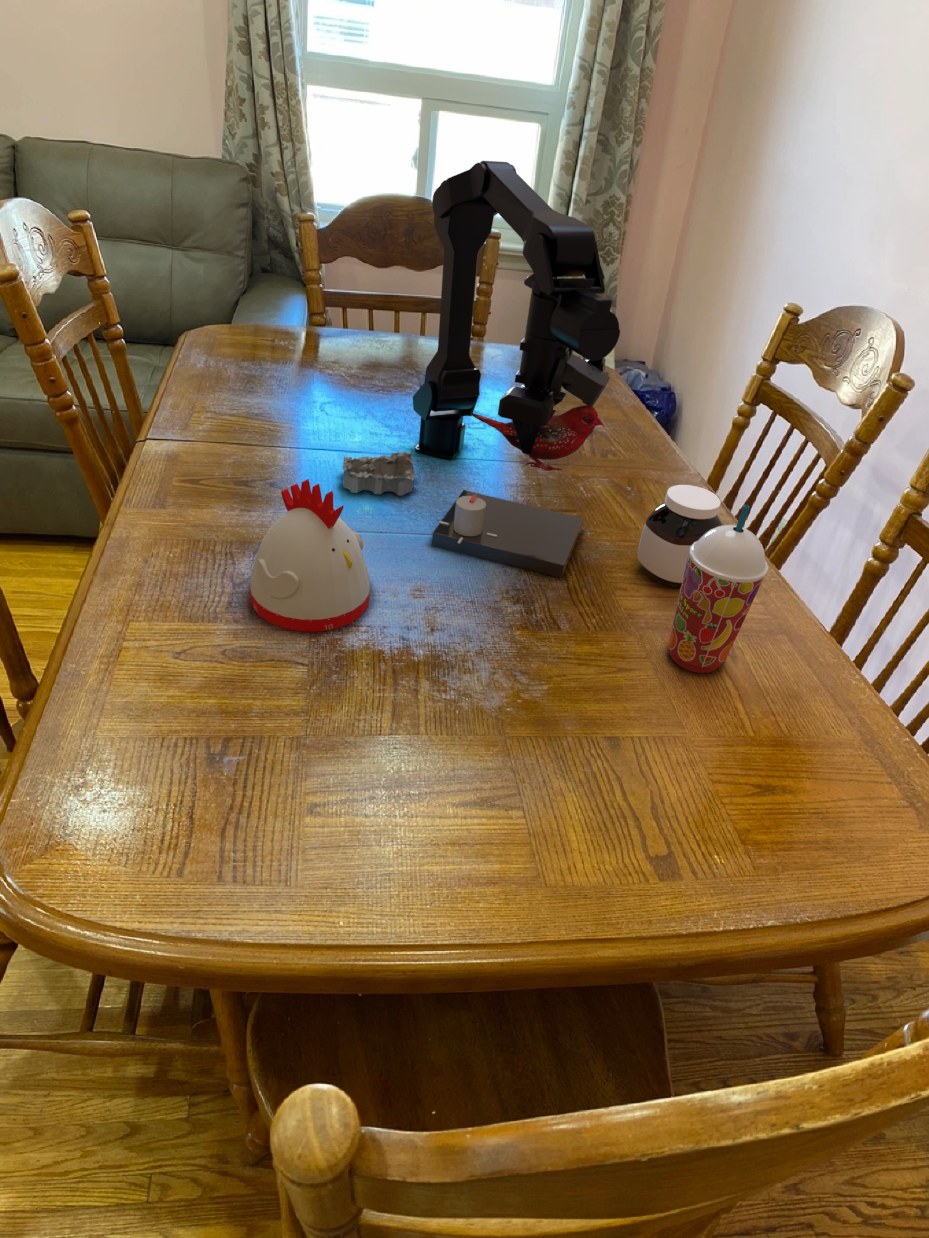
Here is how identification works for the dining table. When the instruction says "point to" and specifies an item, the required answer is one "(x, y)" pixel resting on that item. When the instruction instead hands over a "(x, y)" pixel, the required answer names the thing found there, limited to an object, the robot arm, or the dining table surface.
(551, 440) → the decorative bird figurine
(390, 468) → the egg carton
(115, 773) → the dining table surface
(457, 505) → the stove knob
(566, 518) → the stove
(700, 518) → the spread jar
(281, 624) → the kitchen timer
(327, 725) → the dining table surface
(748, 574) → the smoothie
